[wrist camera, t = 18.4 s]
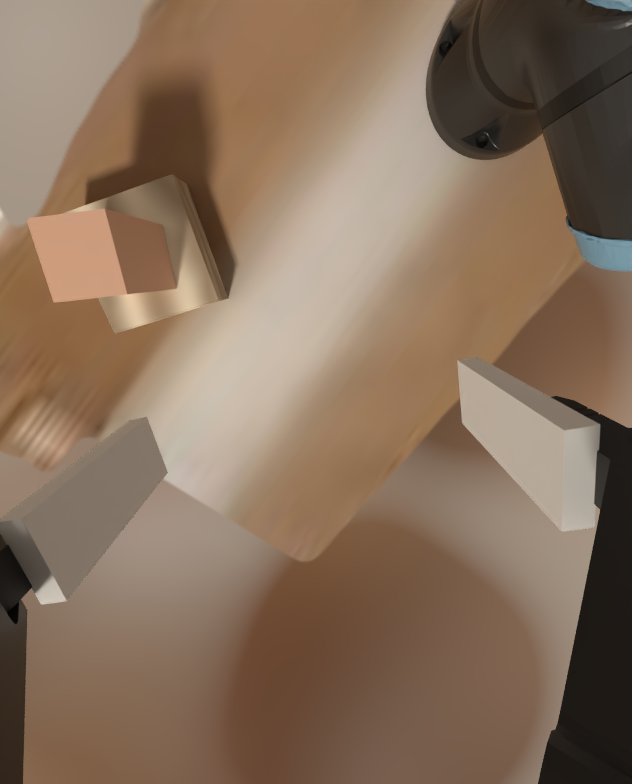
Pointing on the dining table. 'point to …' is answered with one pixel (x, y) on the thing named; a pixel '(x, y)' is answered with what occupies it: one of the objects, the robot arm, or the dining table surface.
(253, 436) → the dining table surface
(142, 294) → the ash block
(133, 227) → the terracotta block
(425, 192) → the dining table surface
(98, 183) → the dining table surface
